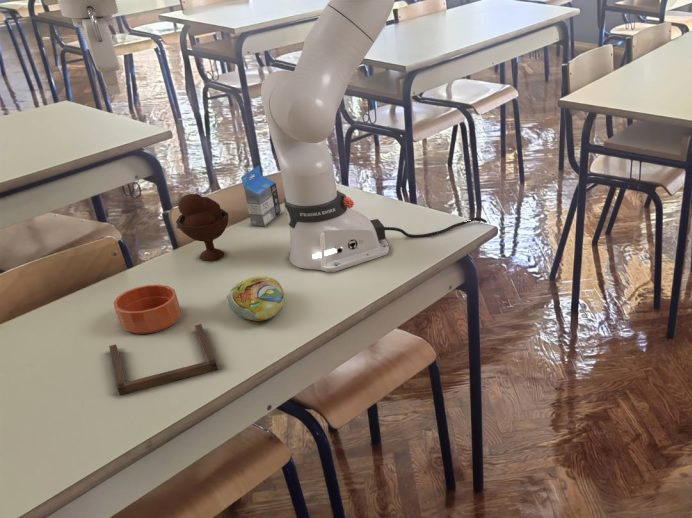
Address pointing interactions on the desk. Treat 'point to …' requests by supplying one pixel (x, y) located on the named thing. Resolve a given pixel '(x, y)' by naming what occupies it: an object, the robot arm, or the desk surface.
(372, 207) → the desk surface
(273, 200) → the blue and grey box
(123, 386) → the frame
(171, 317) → the bowl
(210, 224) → the ice cream bowl
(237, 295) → the cell model
